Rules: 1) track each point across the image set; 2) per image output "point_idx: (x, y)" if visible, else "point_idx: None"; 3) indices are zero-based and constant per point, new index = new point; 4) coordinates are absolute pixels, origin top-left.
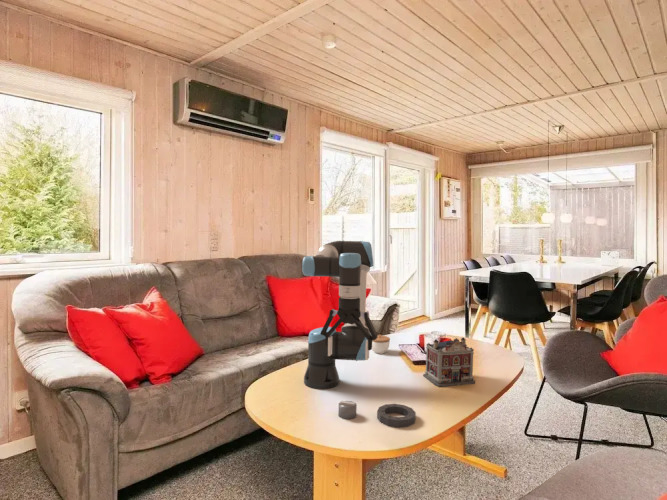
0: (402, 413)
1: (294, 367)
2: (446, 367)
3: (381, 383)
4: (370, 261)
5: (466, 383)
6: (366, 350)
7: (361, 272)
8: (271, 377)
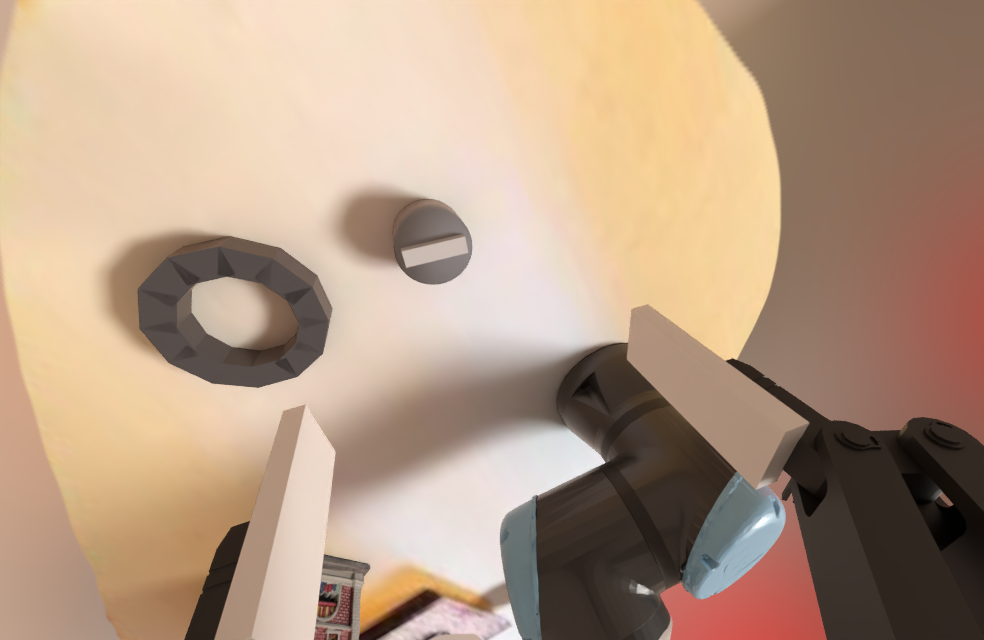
0: (251, 352)
1: None
2: None
3: (447, 475)
4: None
5: None
6: (270, 494)
7: None
8: (742, 334)
